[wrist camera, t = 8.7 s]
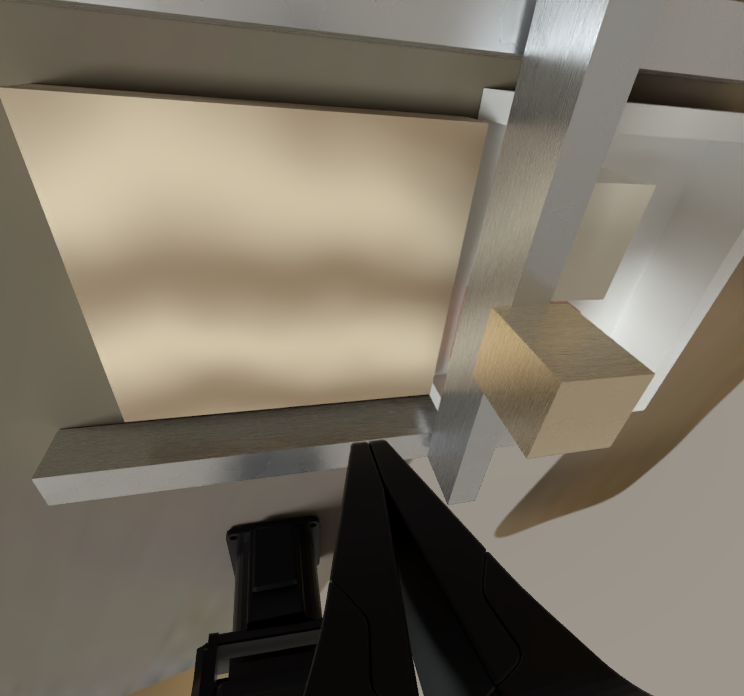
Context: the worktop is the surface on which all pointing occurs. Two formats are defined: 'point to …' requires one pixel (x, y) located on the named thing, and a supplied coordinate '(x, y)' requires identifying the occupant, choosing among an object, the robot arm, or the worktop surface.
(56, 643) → the worktop surface
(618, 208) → the beige block
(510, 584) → the robot arm
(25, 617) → the worktop surface
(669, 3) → the rails
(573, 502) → the worktop surface
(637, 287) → the box
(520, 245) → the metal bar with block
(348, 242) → the board
